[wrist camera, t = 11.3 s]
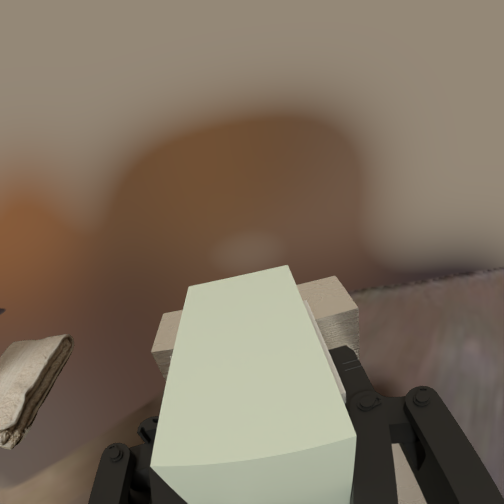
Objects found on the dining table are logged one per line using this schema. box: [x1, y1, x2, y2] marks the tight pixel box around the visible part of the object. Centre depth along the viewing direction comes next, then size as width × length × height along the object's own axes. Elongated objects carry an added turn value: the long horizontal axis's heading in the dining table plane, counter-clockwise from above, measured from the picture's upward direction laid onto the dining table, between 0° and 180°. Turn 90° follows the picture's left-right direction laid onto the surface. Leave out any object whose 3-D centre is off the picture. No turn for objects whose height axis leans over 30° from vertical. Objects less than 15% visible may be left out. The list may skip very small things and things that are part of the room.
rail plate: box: [151, 276, 427, 504], centre depth 14 cm, size 14×24×6 cm, turn 4°
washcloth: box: [0, 334, 74, 450], centre depth 24 cm, size 12×18×3 cm, turn 4°
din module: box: [150, 265, 357, 504], centre depth 11 cm, size 4×9×10 cm, turn 4°
